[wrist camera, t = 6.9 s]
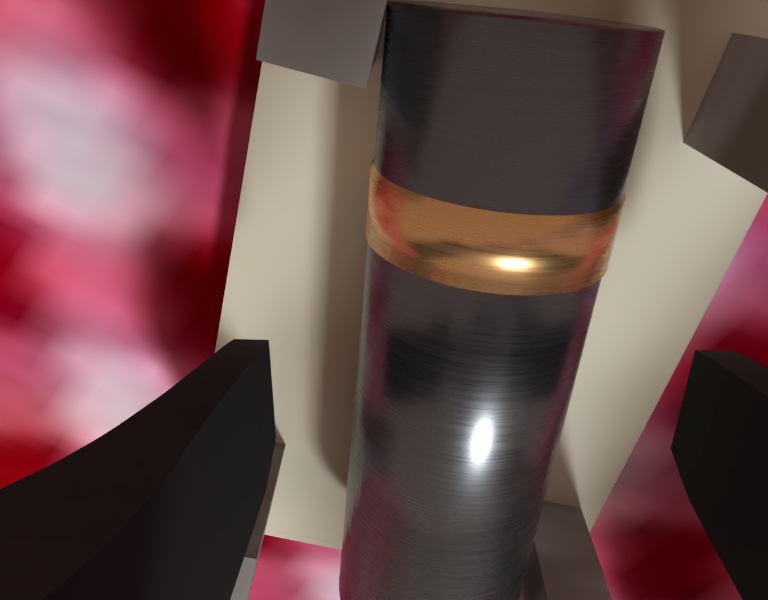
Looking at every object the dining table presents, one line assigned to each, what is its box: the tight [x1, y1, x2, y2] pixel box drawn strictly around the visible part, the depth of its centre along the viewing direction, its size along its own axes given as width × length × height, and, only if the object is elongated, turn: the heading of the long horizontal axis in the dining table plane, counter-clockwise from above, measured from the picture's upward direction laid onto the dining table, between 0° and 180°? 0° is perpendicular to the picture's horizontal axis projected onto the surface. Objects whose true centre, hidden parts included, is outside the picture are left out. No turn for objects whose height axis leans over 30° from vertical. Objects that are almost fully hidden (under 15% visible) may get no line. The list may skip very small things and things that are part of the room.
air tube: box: [339, 0, 665, 600], centre depth 12 cm, size 12×4×4 cm, turn 175°
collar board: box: [215, 0, 768, 600], centre depth 13 cm, size 10×15×4 cm, turn 166°
